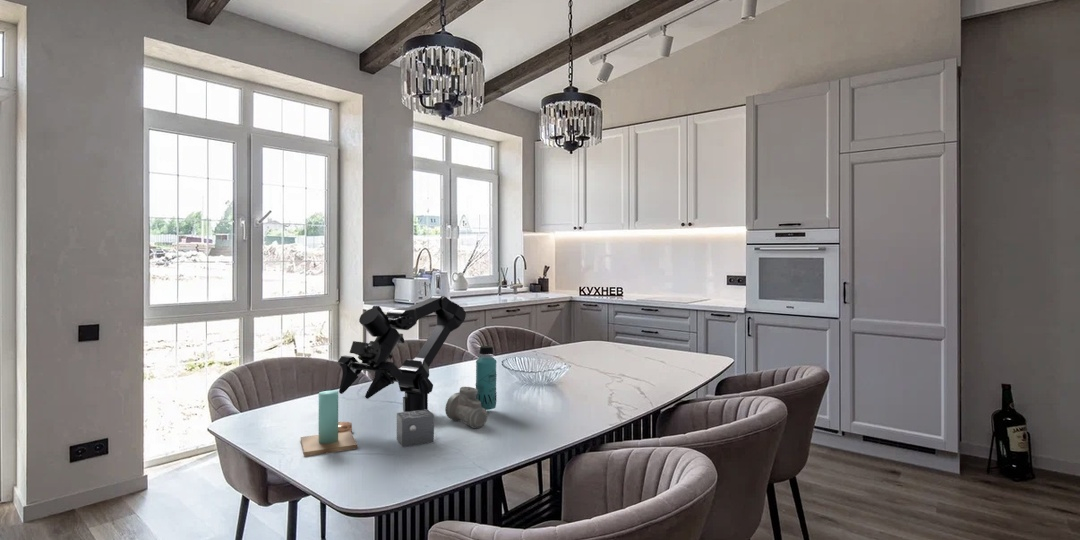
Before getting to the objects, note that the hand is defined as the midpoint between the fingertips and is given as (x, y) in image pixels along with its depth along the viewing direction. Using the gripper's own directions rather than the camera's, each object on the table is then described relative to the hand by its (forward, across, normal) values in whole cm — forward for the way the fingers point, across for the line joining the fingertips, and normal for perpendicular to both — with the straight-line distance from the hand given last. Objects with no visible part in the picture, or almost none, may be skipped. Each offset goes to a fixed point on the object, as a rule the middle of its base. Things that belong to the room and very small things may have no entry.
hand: (353, 395), depth 146 cm
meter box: (+5, +18, +10) cm, 21 cm away
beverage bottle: (-17, +19, +32) cm, 41 cm away
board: (+13, 0, +1) cm, 13 cm away
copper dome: (+8, -5, +8) cm, 12 cm away
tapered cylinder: (+12, 0, +1) cm, 13 cm away
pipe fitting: (-8, +21, +23) cm, 32 cm away
